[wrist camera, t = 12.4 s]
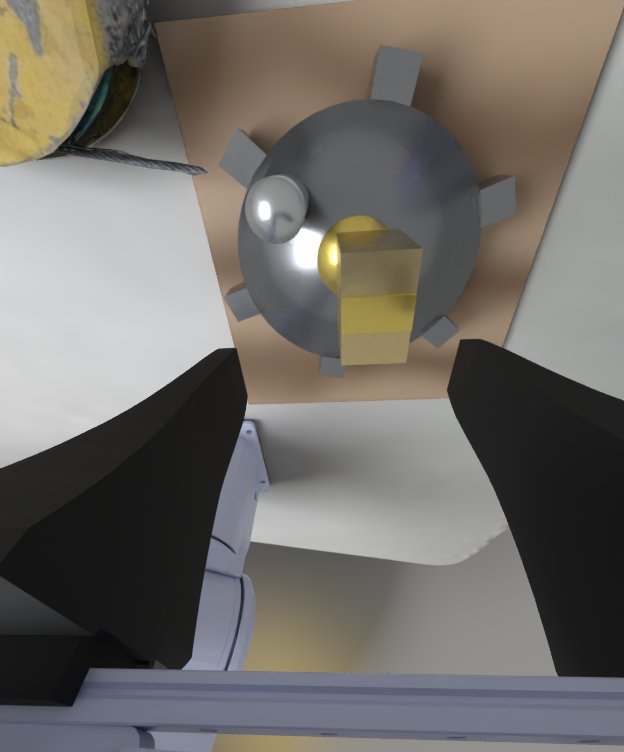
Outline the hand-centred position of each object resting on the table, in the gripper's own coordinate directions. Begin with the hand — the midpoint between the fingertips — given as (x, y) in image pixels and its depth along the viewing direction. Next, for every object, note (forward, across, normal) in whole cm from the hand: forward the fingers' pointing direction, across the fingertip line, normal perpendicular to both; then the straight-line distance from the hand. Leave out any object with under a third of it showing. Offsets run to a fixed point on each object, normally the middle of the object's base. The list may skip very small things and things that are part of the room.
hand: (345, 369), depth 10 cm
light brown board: (+10, -2, -1) cm, 10 cm away
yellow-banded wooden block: (+7, -2, 0) cm, 8 cm away
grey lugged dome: (+9, -1, -2) cm, 9 cm away
